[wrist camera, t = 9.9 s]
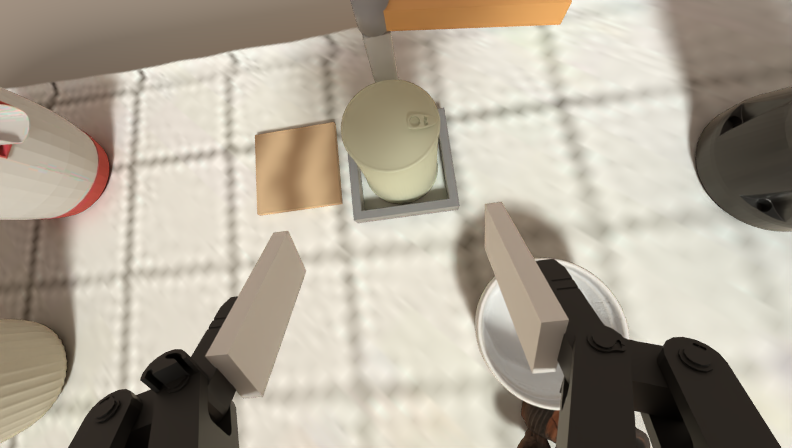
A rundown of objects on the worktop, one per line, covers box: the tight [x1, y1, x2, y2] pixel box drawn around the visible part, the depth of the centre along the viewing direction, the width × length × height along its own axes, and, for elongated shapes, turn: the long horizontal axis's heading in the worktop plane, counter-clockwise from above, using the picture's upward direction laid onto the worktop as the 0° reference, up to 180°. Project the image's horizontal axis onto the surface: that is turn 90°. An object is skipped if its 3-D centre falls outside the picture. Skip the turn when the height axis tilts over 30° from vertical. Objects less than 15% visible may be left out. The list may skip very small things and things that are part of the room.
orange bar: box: [351, 0, 572, 37], centre depth 24 cm, size 3×16×2 cm, turn 87°
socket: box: [348, 31, 460, 223], centre depth 32 cm, size 12×15×14 cm
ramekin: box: [475, 258, 630, 410], centre depth 31 cm, size 13×13×7 cm
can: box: [341, 80, 440, 204], centre depth 33 cm, size 9×9×12 cm
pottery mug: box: [517, 401, 650, 448], centre depth 29 cm, size 12×10×8 cm
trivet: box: [255, 122, 343, 215], centre depth 40 cm, size 11×11×1 cm
